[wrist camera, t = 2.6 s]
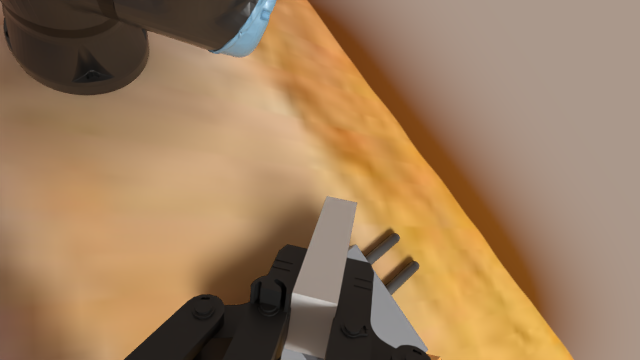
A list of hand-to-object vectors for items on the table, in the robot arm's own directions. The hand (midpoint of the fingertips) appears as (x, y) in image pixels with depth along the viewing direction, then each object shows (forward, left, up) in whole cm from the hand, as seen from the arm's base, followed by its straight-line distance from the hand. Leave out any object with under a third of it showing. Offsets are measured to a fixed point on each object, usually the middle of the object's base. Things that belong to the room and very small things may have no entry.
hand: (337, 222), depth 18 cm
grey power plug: (0, +14, -30) cm, 33 cm away
